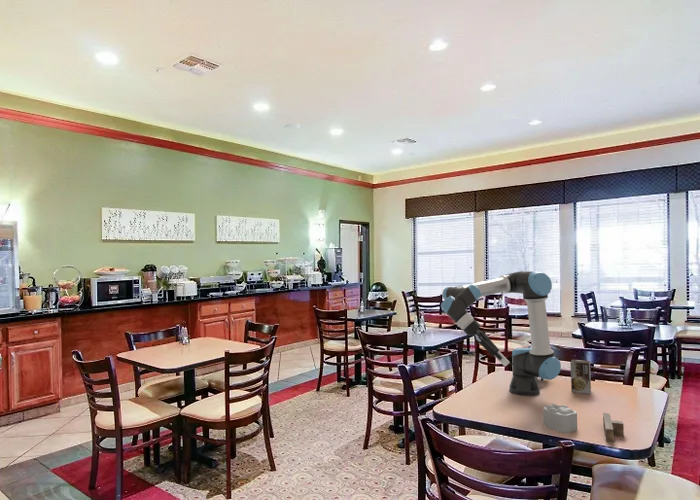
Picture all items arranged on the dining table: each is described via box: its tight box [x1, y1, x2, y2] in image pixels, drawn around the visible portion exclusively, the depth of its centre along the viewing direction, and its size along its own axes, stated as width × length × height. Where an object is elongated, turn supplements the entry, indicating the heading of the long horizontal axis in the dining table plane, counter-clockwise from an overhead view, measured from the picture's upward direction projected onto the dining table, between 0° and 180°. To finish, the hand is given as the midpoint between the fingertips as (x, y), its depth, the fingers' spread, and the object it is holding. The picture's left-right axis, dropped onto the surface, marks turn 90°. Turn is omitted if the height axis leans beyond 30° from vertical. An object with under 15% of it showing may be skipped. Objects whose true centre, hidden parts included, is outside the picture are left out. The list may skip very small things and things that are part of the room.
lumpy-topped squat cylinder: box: [542, 403, 578, 434], centre depth 188 cm, size 10×13×9 cm
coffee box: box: [569, 359, 592, 395], centre depth 238 cm, size 9×6×16 cm
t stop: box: [602, 412, 625, 443], centre depth 180 cm, size 6×20×5 cm, turn 153°
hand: (507, 364), depth 199 cm, fingers closed
